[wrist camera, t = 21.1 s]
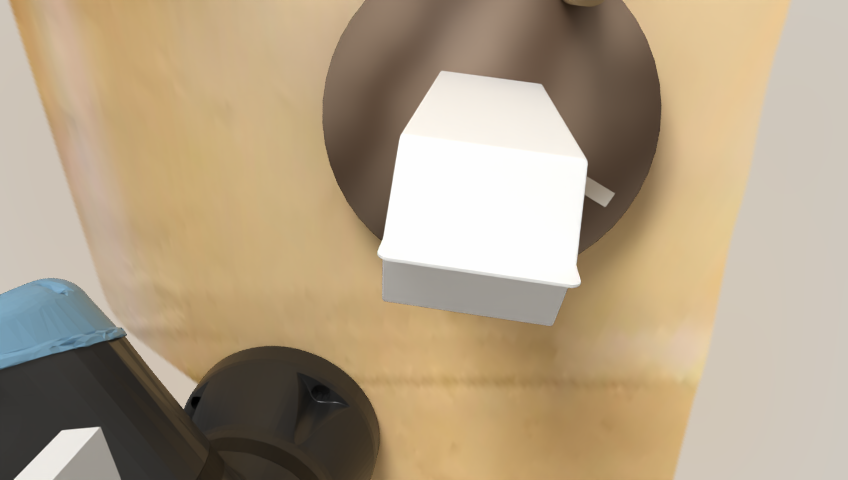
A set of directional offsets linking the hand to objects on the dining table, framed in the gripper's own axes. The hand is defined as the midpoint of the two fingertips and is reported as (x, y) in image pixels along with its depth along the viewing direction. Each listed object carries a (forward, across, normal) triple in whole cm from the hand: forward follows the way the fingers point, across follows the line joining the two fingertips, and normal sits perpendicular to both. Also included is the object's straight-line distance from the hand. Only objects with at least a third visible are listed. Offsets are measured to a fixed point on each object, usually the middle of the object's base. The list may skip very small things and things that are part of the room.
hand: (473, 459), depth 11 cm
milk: (+30, 0, 0) cm, 30 cm away
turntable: (+33, 0, 0) cm, 33 cm away
